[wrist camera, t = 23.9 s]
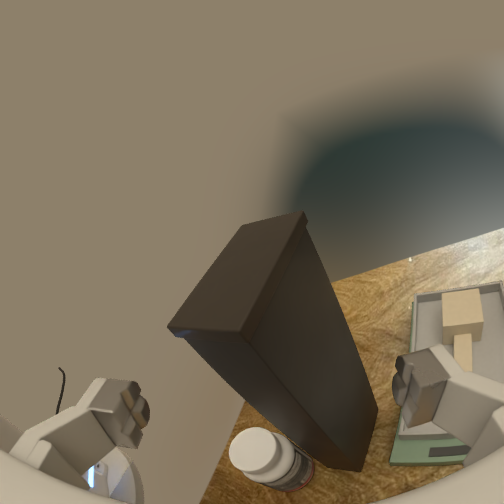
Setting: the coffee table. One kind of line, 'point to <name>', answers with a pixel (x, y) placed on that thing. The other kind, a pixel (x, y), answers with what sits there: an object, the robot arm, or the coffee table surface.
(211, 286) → the stand
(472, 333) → the wooden hammer
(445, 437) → the scale
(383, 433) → the coffee table surface
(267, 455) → the pill bottle
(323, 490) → the coffee table surface
